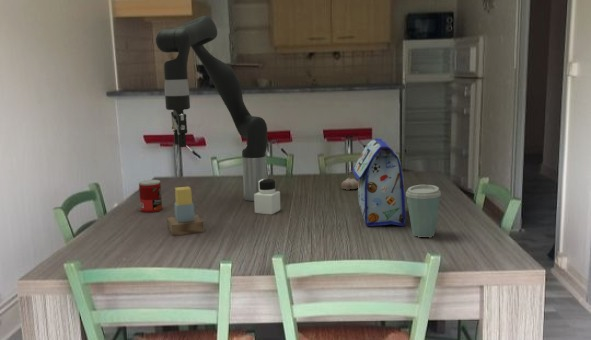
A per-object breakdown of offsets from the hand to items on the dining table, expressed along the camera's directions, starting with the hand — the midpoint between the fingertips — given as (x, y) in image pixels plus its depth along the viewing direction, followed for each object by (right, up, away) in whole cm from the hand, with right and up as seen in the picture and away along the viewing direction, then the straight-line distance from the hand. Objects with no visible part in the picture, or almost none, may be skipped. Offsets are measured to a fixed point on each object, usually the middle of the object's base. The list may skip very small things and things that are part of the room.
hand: (180, 145), depth 181 cm
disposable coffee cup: (+76, -28, -7) cm, 81 cm away
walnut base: (+1, -28, +5) cm, 28 cm away
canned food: (-18, -23, +33) cm, 44 cm away
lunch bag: (+66, -25, +13) cm, 72 cm away
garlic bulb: (+60, -16, +61) cm, 87 cm away
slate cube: (+1, -24, +4) cm, 25 cm away
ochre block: (0, -19, +3) cm, 19 cm away
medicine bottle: (+27, -23, +26) cm, 44 cm away
